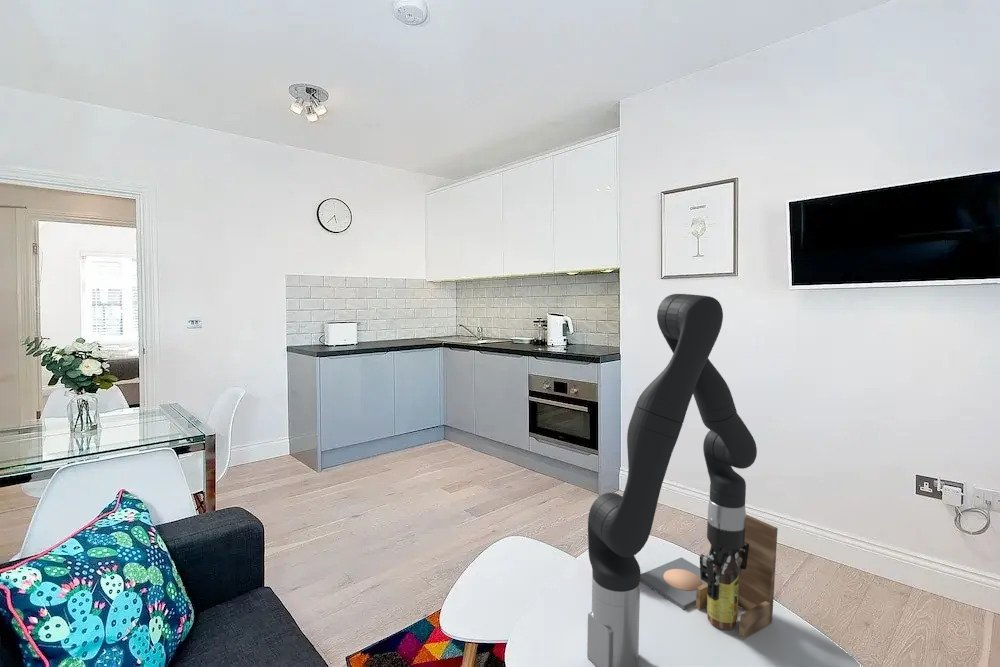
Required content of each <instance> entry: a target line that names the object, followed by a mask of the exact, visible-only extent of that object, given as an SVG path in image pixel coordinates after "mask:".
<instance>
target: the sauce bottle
mask: <svg viewBox="0 0 1000 667" xmlns="http://www.w3.org/2000/svg"><path fill="white" fill-rule="evenodd" d="M727 554H728V555H730V556H731V560H730V563H729V564H728V565H727V568H726V570H725V574H724V575H723V576H721V579H720V582H719V599H718V600H716V601H715V600H713V599H711V598H710V597H709V596H708V594H707V607H706V612H707V620H708V622H709V623H710V624H711V625H712V626H713V627H716V628H717V629H721V630H729V631H730V630H733V629H734V628H735V627H736V626H737V620H738V616H739V611H738V610H739V606H738V591H739V571H738V568H737V566H736V562H735V560H734V558H733V550H728V549H727ZM713 564H714V562H713ZM713 567H714V568H716V569H718V570H720V568H721V567H719V566H718V565H715V564H714V566H713ZM713 572H714V571H713ZM715 577H716V572H714V578H715Z"/></svg>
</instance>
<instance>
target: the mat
mask: <svg viewBox="0 0 1000 667" xmlns="http://www.w3.org/2000/svg"><path fill="white" fill-rule="evenodd" d="M706 575H707V574H706ZM640 582H642V583H644V584H645V585H646V586H648V587H649V588H651V589H652V590H654V591H655V592H657V593H658V594H659V595H661V596H662V597H664V598H665V599H667V600H669V601H670V602H671V603H673V604H674V605H675V606H677V607H678V608H680V609H681V610H685V609H688V608H690V607H692V606H694V605H696V590H697V587H699V586H701V585H703V584H705V583H706V582H705V581H703V580H701V575H700V566H697V565H696V564H694V563H692V562H691V561H689V560H687V559H685V558H684V557H679V558H676V559H673V560H672V561H669V562H667V563H664V564H662V565H660V566H657V567H654V568H653V569H650V570H646V571H645V572H642V573H640Z"/></svg>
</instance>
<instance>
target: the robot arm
mask: <svg viewBox="0 0 1000 667" xmlns="http://www.w3.org/2000/svg"><path fill="white" fill-rule="evenodd" d="M656 319H657V324H658V327H659V329H660V331H661V334H662V336H663V337H664V340H665V341H666V343H667V345H668V347H669V348H670V350H671V352H672V357H671V359H670V360H669V362H668V364H666V366H665V368H664V369H663V370H662V371H661V372H660V374H658V375H657V376H656V377H655V378H654V379H653V380H652V381H651V382H650V383H649V384H648V385H647V387H646V388H644V390H643V391H642V392H641V394H640V395H639V397H638V399H637V401H636V403H635V406H634V409H633V412H632V415H631V418H630V421H629V424H628V428H627V434H626V435H627V436H626V438H627V439H626V441H627V442H626V445H627V465H628V466H627V467H628V468H627V469H628V472H627V480H626V484H625V488H624V490H623V494H622V495H620V494H618V493H615V492H607V493H603V494H601V495H599V496H598V497H597V498H596V499H595V500H594V501H593V503H592V505H591V507H590V509H589V512H588V516H587V517H588V518H587V544H588V548H587V549H588V557H589V559H588V560H589V562H590V566H591V569H592V573H591V574H592V575H591V576H592V577H591V578H592V580H591V583H592V584H591V585H592V586H591V587H592V588H591V612H589V613H587V637H586V638H587V644H586V645H587V646H586V647H587V649H586V657H587V658H588V660H590V661H591V663H593V665H595V667H638V664H639V640H640V605H641V603H640V602H641V601H640V600H641V580H640V574H641V567H640V564H639V562H638V560H637V558H636V555H637V554H638V553H639V552H641V550H642V549H643V548H644V547H645V545H646V543H647V541H648V539H649V537H650V534H651V531H652V528H653V523H654V518H655V516H656V512H657V511H656V510H657V507H658V502H659V498H660V495H661V489H662V485H663V484H664V479H665V476H666V473H667V470H668V467H669V464H670V459H672V458H671V457H672V455H673V452H674V449H675V447H676V446H675V445H676V444H677V442H678V438H679V436H680V433H681V430H682V427H683V423H684V421H685V418H686V415H687V411H688V408H689V406H690V402H691V400H692V397H694V400H695V404H696V406H697V410H698V412H699V415H700V418H701V420H702V423H703V425H704V426H705V427H706V428H707V429H709V431H708V432H707V434H705V437H704V440H703V445H702V446H703V447H702V448H703V456H704V461H705V465H706V468H707V473H708V477H709V482H710V484H709V500H708V507H707V524H706V538H707V540H708V542H709V544H710V549H709V552H708V554H707V555H704V554H703V553H702V554H700V555H699V568H700V575H701V580H703V581H705V582H706V583H708V590H707V594H708V596H709V597H710V598H711V599H713V600H715V601H716V600H718V599H719V582H720V579H721V576H723V575H724V574H725V570H726V568H727V565H728V564H729V563H730V560H731V556H730V555H728V554H727V549H728V550H733V558H734V560H735V562H736V566H737V568H738V571H739V575H740V574H741V570H742V569H744V570H745V569H746V567H747V559H748V551H749V544H748V543H746V542H745V524H746V515H747V513H746V512H747V510H746V493H747V491H746V490H747V484H746V483H747V482H746V480H745V479H744V477H742V476H741V475H740V474H739V473H738V472H737V471H735V470H734V468H735V469H738V470H739V469H742V470H744V469H747V468H750V467H752V465H753V464H754V463H755V461H756V458H757V456H758V455H757V454H758V448H757V447H758V446H757V444H756V441H755V438H754V436H753V435H752V433H751V431H750V430H749V429H748V427H747V425H746V424H745V421H743V419H742V417H741V416H739V414H738V412H737V411H738V410H737V408H736V404H735V401H734V398H733V394H732V392H731V390H730V387H729V385H728V384H727V382H726V380H725V379H724V377H723V376H722V375H721V373H720V372H719V370H718V369H717V368H716V367H715V365H714V364H713V363H712V361H711V360H710V359H709V357H710V355H711V352H712V350H713V348H714V346H715V344H716V342H717V340H718V336H719V334H720V332H721V328H722V326H723V321H724V312H723V308H722V305H721V303H720V301H719V300H718V299H716V298H715V297H713V296H709V295H700V294H690V293H689V294H687V293H673V294H670V295H668V296H666V297H664V298H663V299H662V301H661V302H660V304H659V306H658V309H657V313H656ZM739 557H741V558H742V562H740V560H739ZM713 562H714V564H715V565H718V566H719V567H721V568H720V570H718V569H716V568H714V567H713V566H714V564H713ZM713 571H714V572H716V577H715V578H714V572H713ZM706 574H707V575H706Z"/></svg>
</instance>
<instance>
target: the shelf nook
mask: <svg viewBox="0 0 1000 667" xmlns="http://www.w3.org/2000/svg"><path fill="white" fill-rule="evenodd" d="M778 531H779V530H778V527H776V526H774V525H771V524H769V523H766V522H764V521H762V520H760V519H758V518H755V517H753V516H751V515H748V514H746V524H745V542H746V543H748V544H749V551H748V559H747V567H746V569H745V570H744V569H742V570H741V574H740V575H739V591H738V608H740V609H743V610H744V611H745V612H743V613H741V614H740V615H739V631H738V634H739V636H738V637H739V638H740V639H741V640H745V639H747V638H749V637H751V636H752V635H754V634H755V633H757V632H759V631H761V630H763V629H764V628H766V627H768V626H770V625H771V624H773V614H774V613H773V612H774V598H775V597H774V596H775V594H774V593H775V592H774V591H775V582H776V581H775V578H776V564H777V563H776V562H777V561H776V560H777V546H778V544H777V542H778ZM739 560H740V562H742V558H741V557H739ZM707 590H708V583H705V584H703V585H701V586H699V587H697V590H696V604H695V609H697V610H698V611H701V610H703V609H705V608H707Z"/></svg>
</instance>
